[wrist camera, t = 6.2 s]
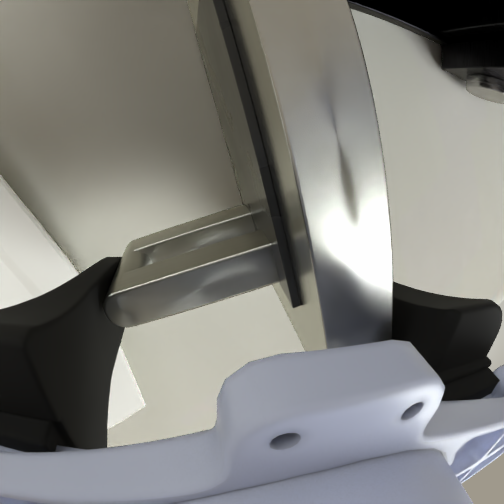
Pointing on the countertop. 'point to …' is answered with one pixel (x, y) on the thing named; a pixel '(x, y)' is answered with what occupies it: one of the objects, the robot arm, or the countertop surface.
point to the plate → (49, 285)
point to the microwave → (454, 36)
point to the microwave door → (281, 181)
